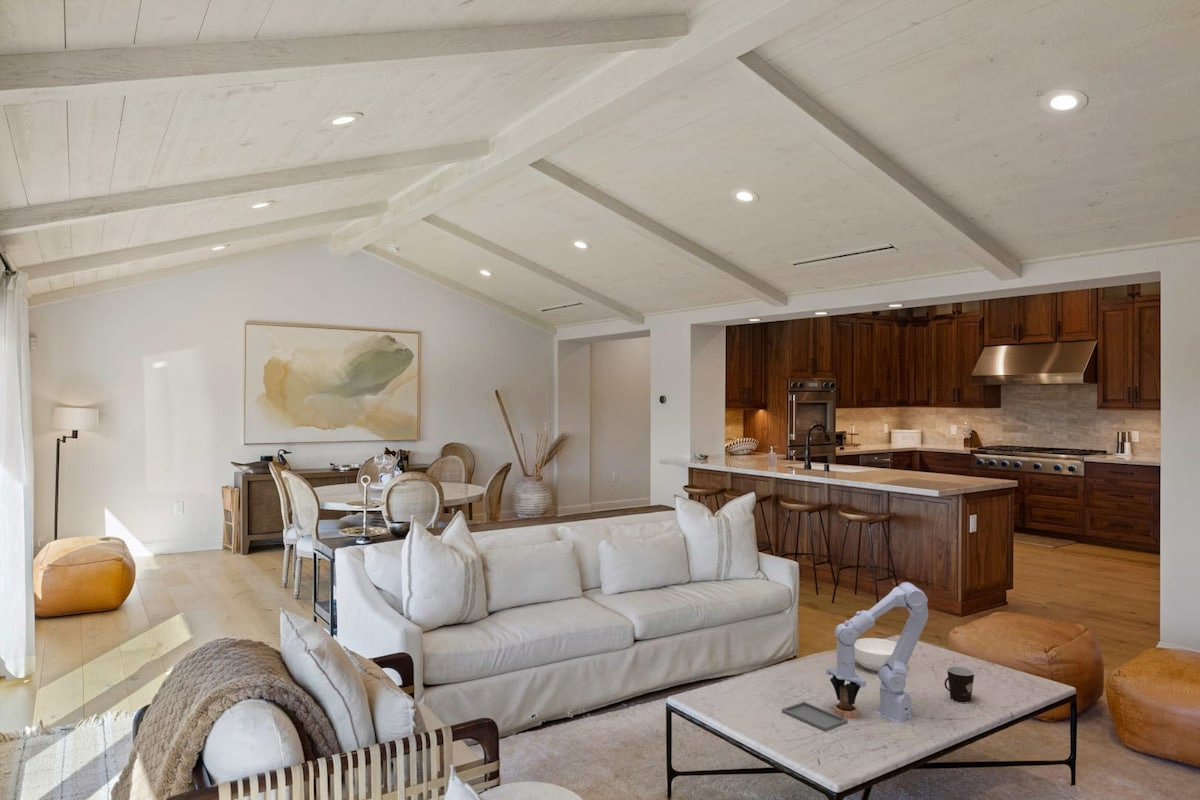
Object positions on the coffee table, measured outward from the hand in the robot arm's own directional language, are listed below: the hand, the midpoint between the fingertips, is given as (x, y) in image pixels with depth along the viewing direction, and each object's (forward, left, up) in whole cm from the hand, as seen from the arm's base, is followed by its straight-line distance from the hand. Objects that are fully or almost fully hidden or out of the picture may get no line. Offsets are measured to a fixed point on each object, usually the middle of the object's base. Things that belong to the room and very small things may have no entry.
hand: (845, 701), depth 259 cm
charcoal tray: (+4, +11, -4) cm, 13 cm away
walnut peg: (0, 0, -3) cm, 3 cm away
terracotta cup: (0, 0, -4) cm, 4 cm away
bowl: (+21, -47, -5) cm, 52 cm away
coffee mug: (-14, -42, -5) cm, 44 cm away
